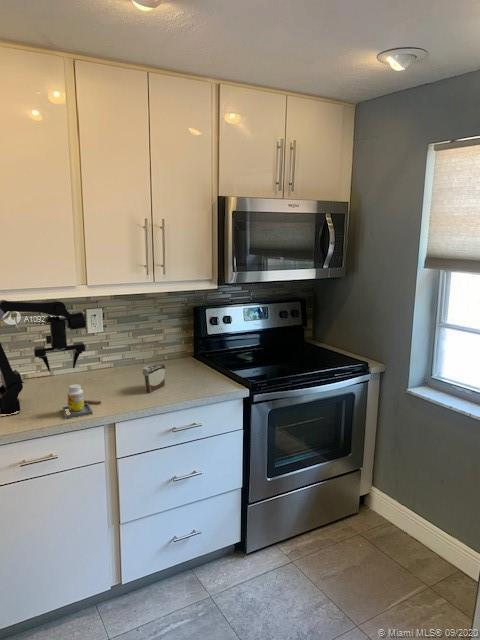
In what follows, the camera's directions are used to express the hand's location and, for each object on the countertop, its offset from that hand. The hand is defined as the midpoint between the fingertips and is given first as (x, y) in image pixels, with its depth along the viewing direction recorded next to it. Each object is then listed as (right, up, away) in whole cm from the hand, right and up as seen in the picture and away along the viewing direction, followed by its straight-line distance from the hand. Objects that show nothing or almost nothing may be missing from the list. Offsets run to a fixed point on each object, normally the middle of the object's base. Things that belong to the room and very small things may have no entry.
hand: (61, 369), depth 187 cm
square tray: (+9, -15, -9) cm, 20 cm away
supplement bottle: (+9, -15, -9) cm, 20 cm away
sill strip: (+10, -13, 0) cm, 17 cm away
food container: (+33, -10, +16) cm, 38 cm away
